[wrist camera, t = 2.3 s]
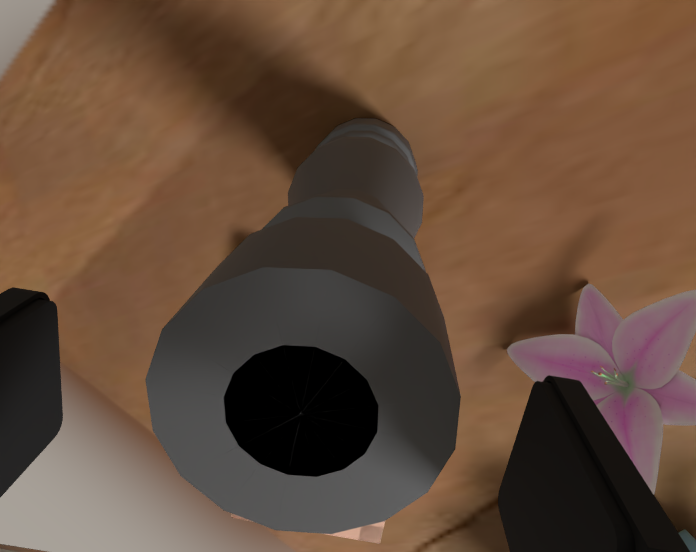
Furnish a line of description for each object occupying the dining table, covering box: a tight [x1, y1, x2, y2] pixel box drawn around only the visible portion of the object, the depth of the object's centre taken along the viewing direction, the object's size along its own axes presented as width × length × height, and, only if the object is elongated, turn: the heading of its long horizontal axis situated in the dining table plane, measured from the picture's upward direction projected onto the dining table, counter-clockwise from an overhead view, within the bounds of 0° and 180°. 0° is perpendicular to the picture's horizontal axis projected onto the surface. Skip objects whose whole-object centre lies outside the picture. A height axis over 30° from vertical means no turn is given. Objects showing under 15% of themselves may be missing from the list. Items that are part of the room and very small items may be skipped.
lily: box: [507, 284, 696, 495], centre depth 33 cm, size 12×12×10 cm
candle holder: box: [146, 118, 461, 534], centre depth 21 cm, size 6×6×25 cm
